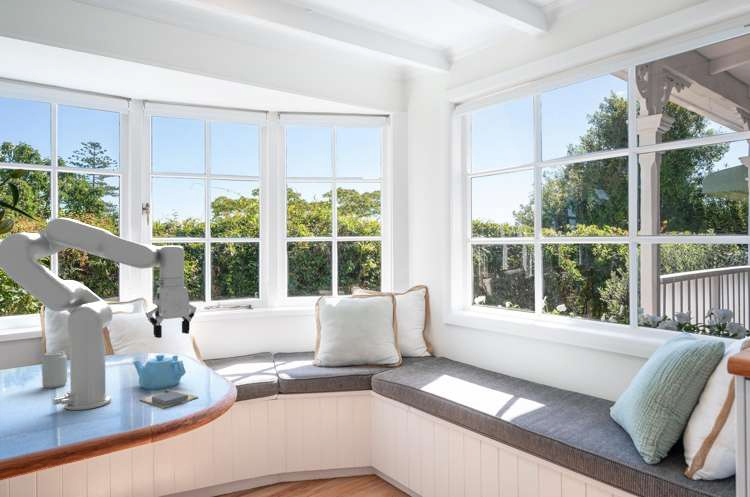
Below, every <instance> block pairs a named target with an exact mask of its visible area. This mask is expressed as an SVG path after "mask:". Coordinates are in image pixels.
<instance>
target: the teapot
mask: <svg viewBox="0 0 750 497" xmlns="http://www.w3.org/2000/svg"><path fill="white" fill-rule="evenodd" d="M155 357H156V358H152V359H149V360H147V362H146V363H145V364H144V365H143V363H141V361H140V360H135V361H133V365H134V367H135V370H136V372H137V374H138V377H139V378H138V384H139V385H140V387H142V388H143V389H144V390H146V389H147V390H161V388H163V389H168V388H171V386H172V387H174V385H175V386H176V385H178V383H179V382H180V381H181V379H182V377H183V376H184V375H185V374H186V368H185V365H184V362H183V360H179V355H172V357H165V354H157V355H155ZM167 387H168V388H167Z"/></svg>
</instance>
